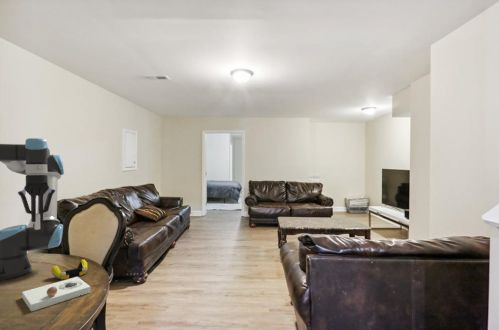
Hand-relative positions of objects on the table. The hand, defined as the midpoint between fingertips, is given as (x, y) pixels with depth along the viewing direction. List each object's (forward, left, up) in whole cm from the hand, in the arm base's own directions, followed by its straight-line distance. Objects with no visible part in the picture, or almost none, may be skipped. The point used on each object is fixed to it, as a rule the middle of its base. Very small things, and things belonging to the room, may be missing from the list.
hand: (37, 228), depth 120 cm
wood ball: (+18, +1, -22) cm, 28 cm away
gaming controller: (-7, +15, -27) cm, 31 cm away
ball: (+12, +9, -25) cm, 29 cm away
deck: (+12, +4, -26) cm, 29 cm away
